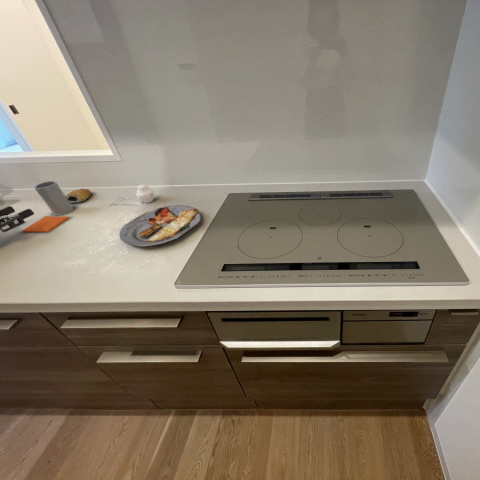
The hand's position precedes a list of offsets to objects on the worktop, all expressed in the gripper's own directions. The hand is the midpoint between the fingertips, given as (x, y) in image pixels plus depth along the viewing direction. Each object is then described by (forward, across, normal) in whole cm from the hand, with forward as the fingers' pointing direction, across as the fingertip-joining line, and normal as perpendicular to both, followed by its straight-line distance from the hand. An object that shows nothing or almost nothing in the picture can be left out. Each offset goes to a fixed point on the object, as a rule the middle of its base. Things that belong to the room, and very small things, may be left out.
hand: (22, 209), depth 90 cm
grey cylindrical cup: (+10, 0, +6) cm, 12 cm away
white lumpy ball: (+24, -27, +7) cm, 37 cm away
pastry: (+20, +2, +7) cm, 21 cm away
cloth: (+1, -4, +6) cm, 8 cm away
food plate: (+8, -47, +7) cm, 48 cm away
